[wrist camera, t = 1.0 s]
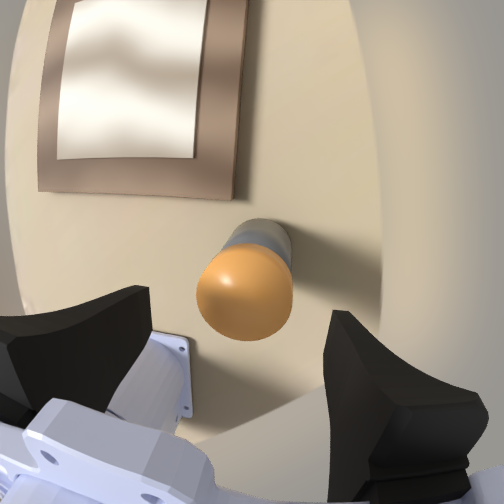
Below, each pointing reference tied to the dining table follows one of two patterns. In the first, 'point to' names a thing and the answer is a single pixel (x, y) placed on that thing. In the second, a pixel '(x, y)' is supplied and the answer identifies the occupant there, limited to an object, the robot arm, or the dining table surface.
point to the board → (142, 97)
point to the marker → (249, 283)
